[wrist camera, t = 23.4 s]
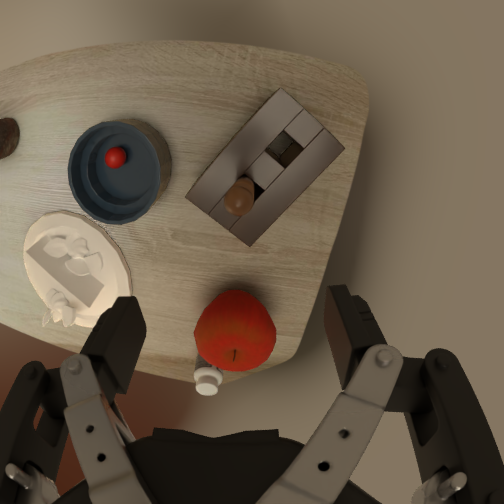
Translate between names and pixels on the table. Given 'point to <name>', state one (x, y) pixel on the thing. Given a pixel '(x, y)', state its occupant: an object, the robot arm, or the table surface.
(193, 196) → the stand
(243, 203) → the stick
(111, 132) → the bowl
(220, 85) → the table surface
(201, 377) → the pill bottle
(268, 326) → the apple
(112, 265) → the dish
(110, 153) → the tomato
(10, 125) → the brown tall cylinder
